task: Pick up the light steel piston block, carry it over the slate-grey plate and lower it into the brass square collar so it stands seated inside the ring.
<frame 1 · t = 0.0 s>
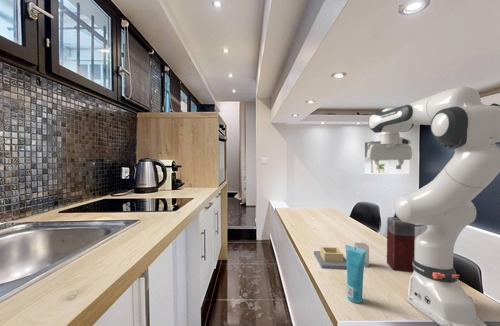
hand: (388, 168, 115), 48 cm above the counter, fingers open, 8 cm apart
tube: (354, 299, 85), on the counter
piston block: (361, 264, 115), on the counter
collar stand: (331, 260, 119), on the counter
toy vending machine: (399, 266, 113), on the counter
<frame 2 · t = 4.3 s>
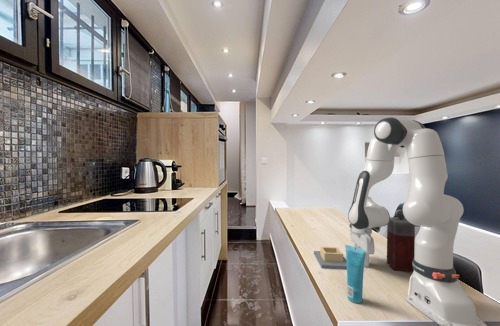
hand: (361, 256, 115), 4 cm above the counter, fingers closed on piston block, 5 cm apart
piston block: (361, 264, 115), on the counter, touching gripper
everything else where it was.
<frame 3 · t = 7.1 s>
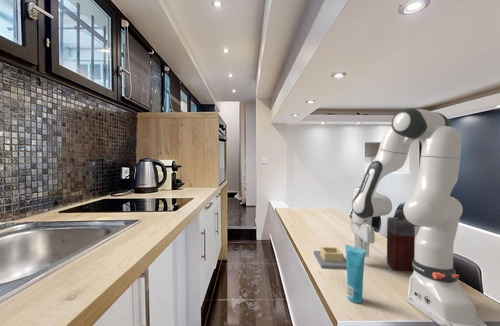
hand: (361, 246, 115), 9 cm above the counter, fingers closed on piston block, 5 cm apart
piston block: (361, 254, 115), point 5 cm above the counter, touching gripper
everything else where it was.
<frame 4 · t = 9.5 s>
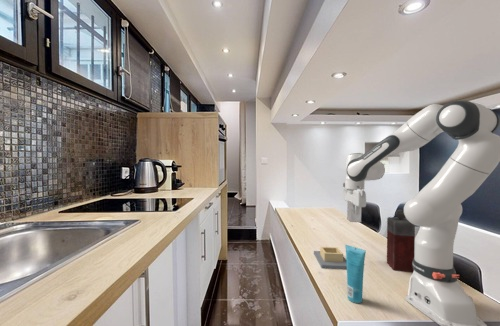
hand: (354, 212, 116), 26 cm above the counter, fingers closed on piston block, 5 cm apart
piston block: (353, 221, 116), point 21 cm above the counter, touching gripper
everything else where it was.
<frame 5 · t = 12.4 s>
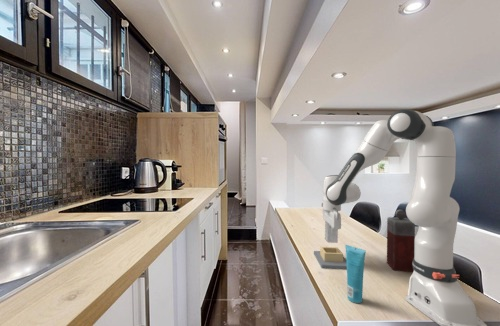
hand: (331, 233, 119), 14 cm above the counter, fingers closed on piston block, 5 cm apart
piston block: (331, 241, 119), point 10 cm above the counter, touching gripper
everything else where it was.
when the fingers open (7 cm above the counter, at t = 14.9 s): piston block drops 1 cm, resting on collar stand.
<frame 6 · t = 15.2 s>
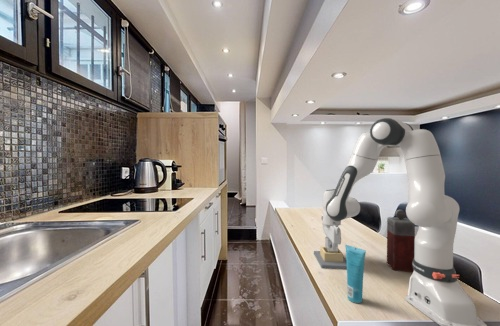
hand: (331, 247, 119), 7 cm above the counter, fingers open, 8 cm apart
piston block: (331, 258, 119), point 1 cm above the counter, touching collar stand
everything else where it was.
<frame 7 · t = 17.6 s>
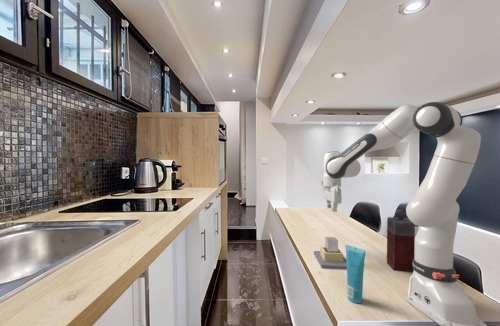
hand: (331, 209, 119), 26 cm above the counter, fingers open, 8 cm apart
nothing on the counter moved.
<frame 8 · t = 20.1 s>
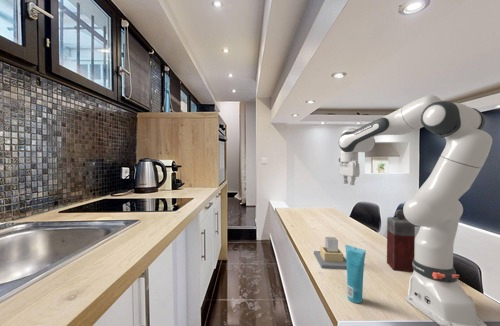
hand: (348, 184, 125), 39 cm above the counter, fingers open, 8 cm apart
nothing on the counter moved.
at the end: piston block 0.1 cm off-centre on the collar stand, point 1.5 cm above the collar stand's base; piston block tilted 0°; the gripper is holding nothing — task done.
